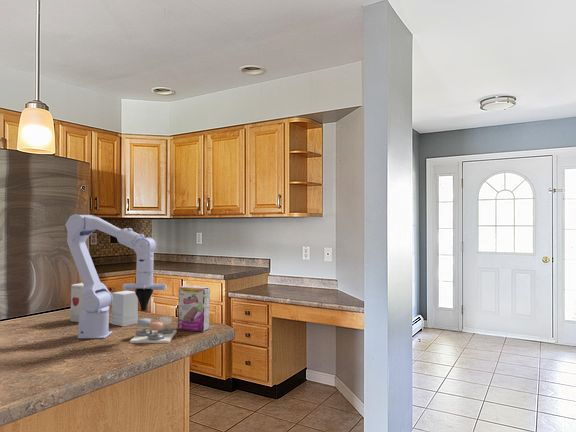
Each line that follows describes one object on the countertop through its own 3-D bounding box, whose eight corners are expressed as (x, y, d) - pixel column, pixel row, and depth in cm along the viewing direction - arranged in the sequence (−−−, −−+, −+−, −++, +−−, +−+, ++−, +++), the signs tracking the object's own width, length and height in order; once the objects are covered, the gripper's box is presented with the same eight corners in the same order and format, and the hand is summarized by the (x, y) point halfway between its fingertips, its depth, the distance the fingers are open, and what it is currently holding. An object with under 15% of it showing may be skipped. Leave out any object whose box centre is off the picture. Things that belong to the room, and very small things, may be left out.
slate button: (135, 326, 151) (135, 321, 151) (139, 323, 155) (139, 318, 155) (148, 326, 151) (149, 321, 151) (152, 323, 156) (152, 318, 156)
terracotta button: (147, 330, 146) (148, 324, 146) (151, 327, 151) (151, 321, 151) (161, 330, 146) (161, 324, 146) (164, 327, 151) (164, 321, 151)
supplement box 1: (69, 321, 173) (70, 284, 173) (85, 316, 181) (86, 281, 182) (87, 323, 170) (88, 285, 170) (103, 318, 179) (104, 282, 179)
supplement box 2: (138, 323, 172) (138, 291, 172) (122, 326, 166) (123, 294, 166) (126, 320, 176) (127, 290, 176) (110, 324, 170) (111, 292, 170)
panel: (129, 342, 145) (129, 335, 145) (140, 332, 159) (140, 325, 159) (168, 342, 146) (169, 335, 146) (176, 332, 160) (176, 325, 160)
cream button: (157, 324, 154) (157, 319, 154) (160, 321, 159) (160, 316, 159) (170, 324, 154) (170, 319, 154) (173, 321, 159) (173, 316, 159)
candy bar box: (177, 329, 163) (178, 286, 164) (183, 326, 168) (184, 285, 168) (203, 332, 160) (204, 288, 160) (209, 329, 165) (210, 286, 165)
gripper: (120, 273, 146) (119, 312, 146) (163, 273, 147) (162, 312, 147) (126, 270, 153) (125, 308, 153) (167, 270, 154) (166, 308, 154)
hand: (144, 310), depth 151 cm, fingers closed
